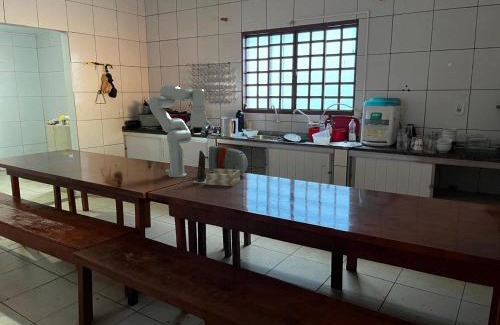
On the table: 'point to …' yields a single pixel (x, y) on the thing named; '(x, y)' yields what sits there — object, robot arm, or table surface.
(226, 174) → the beige woven basket
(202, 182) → the mat
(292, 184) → the table surface
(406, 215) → the table surface
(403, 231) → the table surface
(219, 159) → the decorative stone tablet
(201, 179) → the statue
